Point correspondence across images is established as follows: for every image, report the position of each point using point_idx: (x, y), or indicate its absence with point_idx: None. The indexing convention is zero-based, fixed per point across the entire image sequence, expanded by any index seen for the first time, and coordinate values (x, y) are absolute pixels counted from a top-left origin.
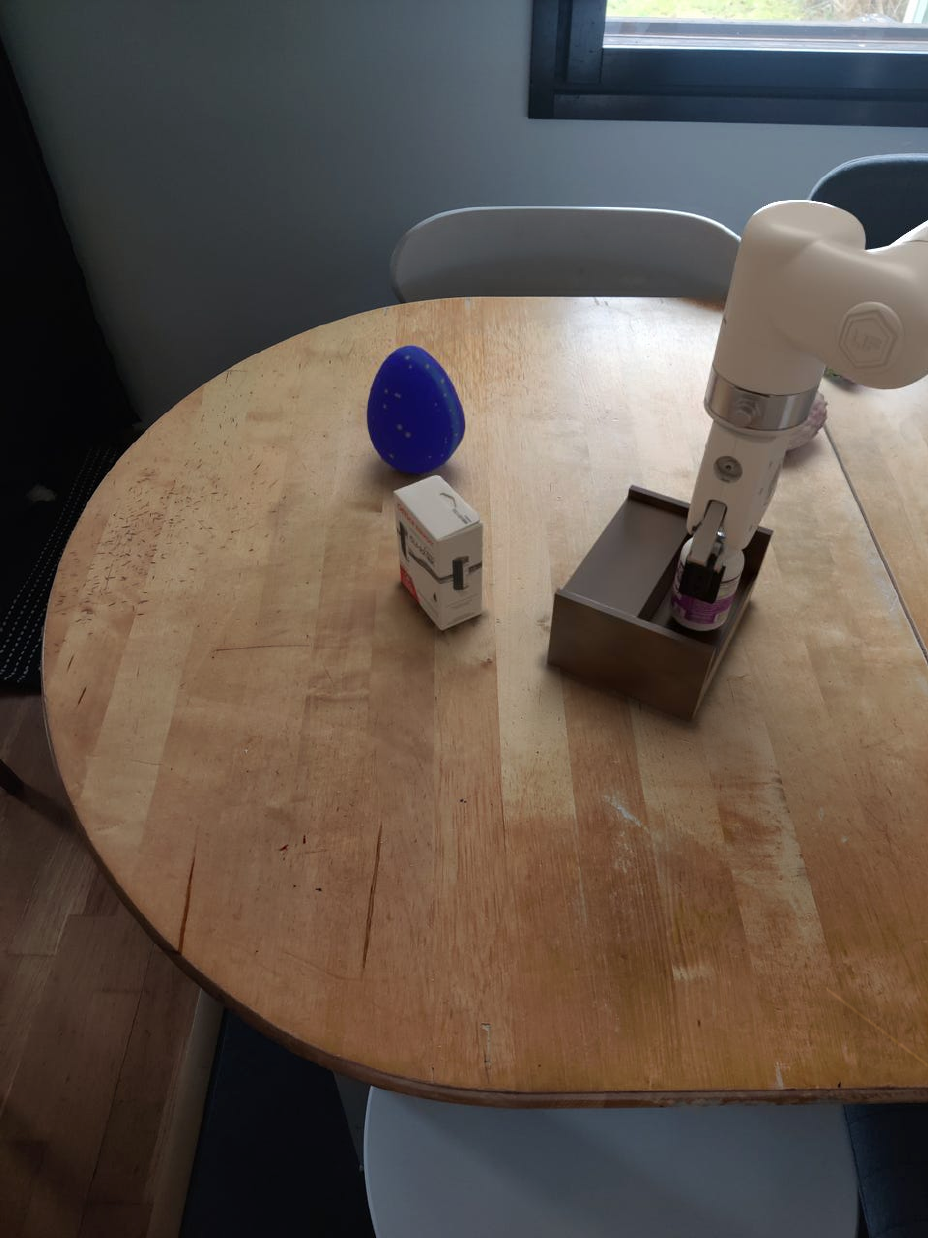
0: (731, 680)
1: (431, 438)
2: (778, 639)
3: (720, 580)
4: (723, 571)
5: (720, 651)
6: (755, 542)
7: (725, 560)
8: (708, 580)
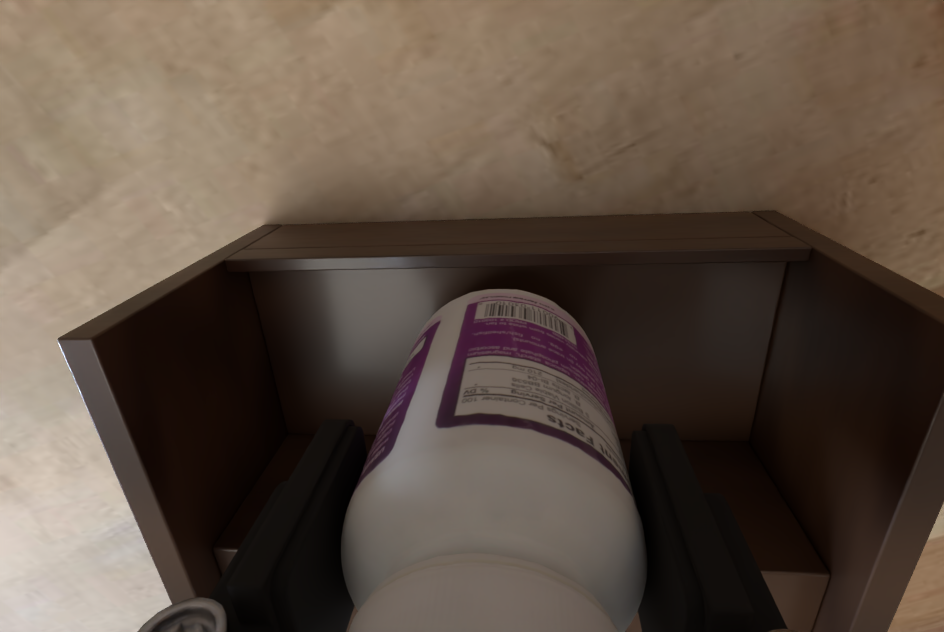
0: (575, 167)
1: None
2: (351, 101)
3: (721, 537)
4: (747, 601)
5: (625, 251)
6: (153, 354)
7: (565, 569)
8: (770, 593)
